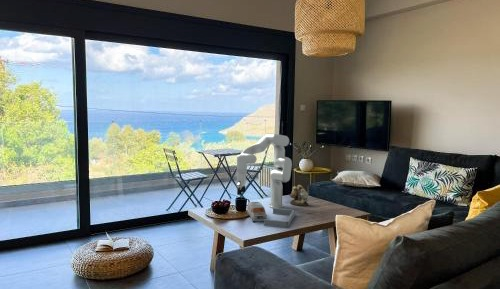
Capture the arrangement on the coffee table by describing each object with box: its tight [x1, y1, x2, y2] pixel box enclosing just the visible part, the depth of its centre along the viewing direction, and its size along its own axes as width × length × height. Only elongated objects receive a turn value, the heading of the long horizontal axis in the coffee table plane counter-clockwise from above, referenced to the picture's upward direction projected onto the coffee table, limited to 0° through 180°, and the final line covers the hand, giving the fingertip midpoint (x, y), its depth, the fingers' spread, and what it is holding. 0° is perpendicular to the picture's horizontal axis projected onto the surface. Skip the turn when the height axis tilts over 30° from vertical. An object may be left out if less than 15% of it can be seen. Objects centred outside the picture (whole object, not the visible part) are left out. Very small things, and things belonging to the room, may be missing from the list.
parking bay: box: [263, 208, 296, 229], centre depth 273 cm, size 32×17×4 cm, turn 165°
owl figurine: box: [288, 184, 309, 207], centre depth 318 cm, size 18×12×17 cm, turn 55°
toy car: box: [246, 201, 268, 223], centre depth 278 cm, size 11×25×10 cm, turn 12°
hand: (241, 193), depth 279 cm, fingers open, 9 cm apart
